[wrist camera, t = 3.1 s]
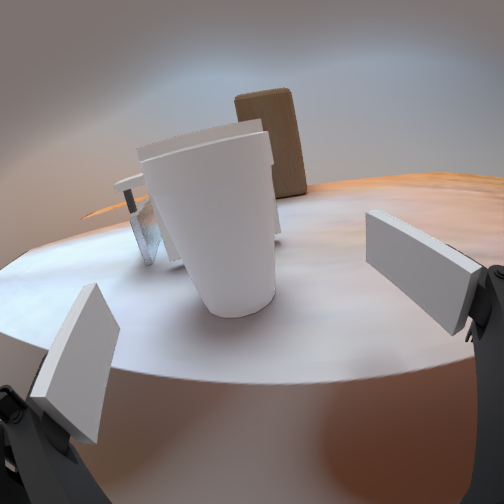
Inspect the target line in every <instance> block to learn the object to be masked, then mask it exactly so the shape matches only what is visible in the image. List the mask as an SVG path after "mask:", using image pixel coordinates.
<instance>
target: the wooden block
mask: <svg viewBox="0 0 504 504" xmlns="http://www.w3.org/2000/svg"><path fill="white" fill-rule="evenodd" d="M234 103H235V107H236V112H237V117H238V122H243V121H248V120H254V119H260V118H261V122H262V127H263V132H264V131H268V134H269V139H270V144H271V149H272V155H273V160H274V164H273V165H271V168H272V181H273V187H274V193H275V198H281V197H287V196H294V195H300V194H304V193H305V192H306V191H307V184H306V177H305V169H304V163H303V156H302V150H301V144H300V138H299V132H298V127H297V120H296V115H295V109H294V104H293V99H292V95H291V92H290V90H289V89H288V88H278V89H271V90H265V91H259V92H252V93H247V94H241V95H238V96H237V97H235V100H234Z"/></svg>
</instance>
